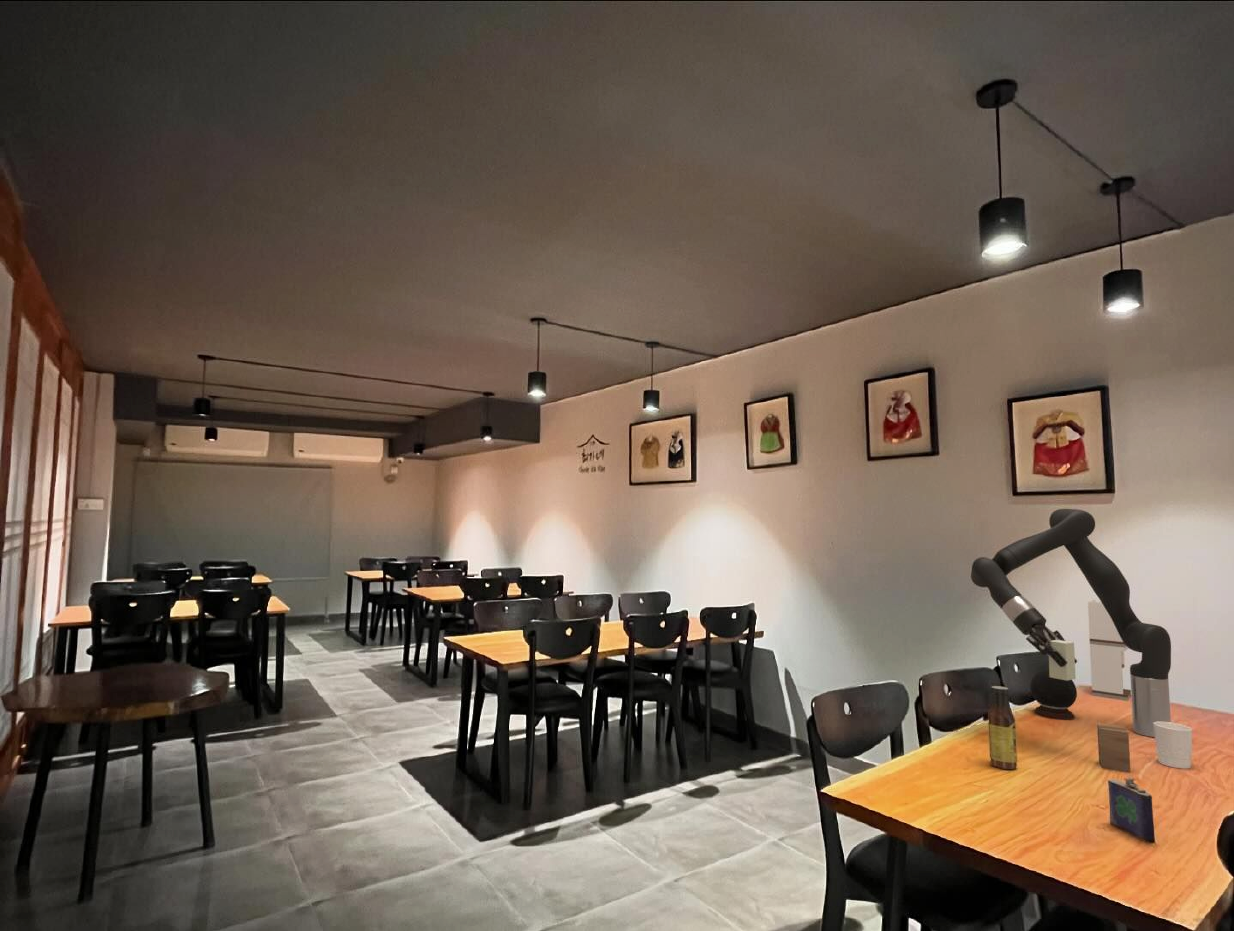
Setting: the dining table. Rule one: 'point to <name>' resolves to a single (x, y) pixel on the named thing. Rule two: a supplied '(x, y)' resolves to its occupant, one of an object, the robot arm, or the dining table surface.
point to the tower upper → (1113, 737)
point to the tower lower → (1114, 760)
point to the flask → (1131, 809)
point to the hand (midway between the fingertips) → (1069, 664)
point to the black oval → (1053, 696)
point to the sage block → (1068, 654)
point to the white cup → (1173, 744)
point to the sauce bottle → (1002, 730)
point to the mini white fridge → (1106, 654)
